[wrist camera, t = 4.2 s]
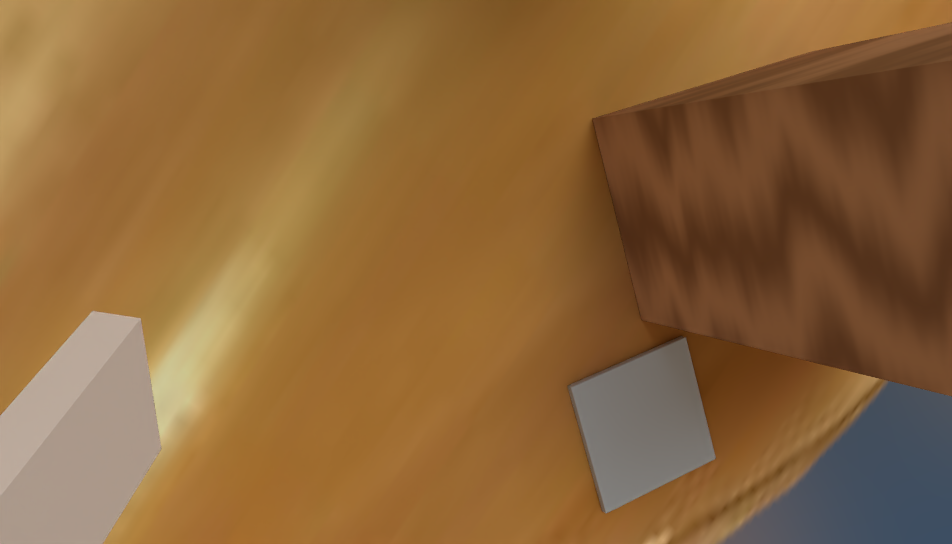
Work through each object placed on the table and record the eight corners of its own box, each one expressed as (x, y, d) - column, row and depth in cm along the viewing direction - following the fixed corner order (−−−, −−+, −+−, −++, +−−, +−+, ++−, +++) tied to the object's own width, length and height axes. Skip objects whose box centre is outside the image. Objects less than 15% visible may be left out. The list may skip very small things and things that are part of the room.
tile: (562, 383, 49) (571, 387, 48) (675, 334, 52) (685, 337, 51) (597, 507, 51) (606, 513, 50) (705, 454, 54) (715, 458, 53)
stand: (592, 118, 48) (1227, 15, 20) (811, 51, 53) (1552, -103, 26) (641, 320, 50) (1272, 475, 23) (846, 236, 56) (1562, 279, 28)
